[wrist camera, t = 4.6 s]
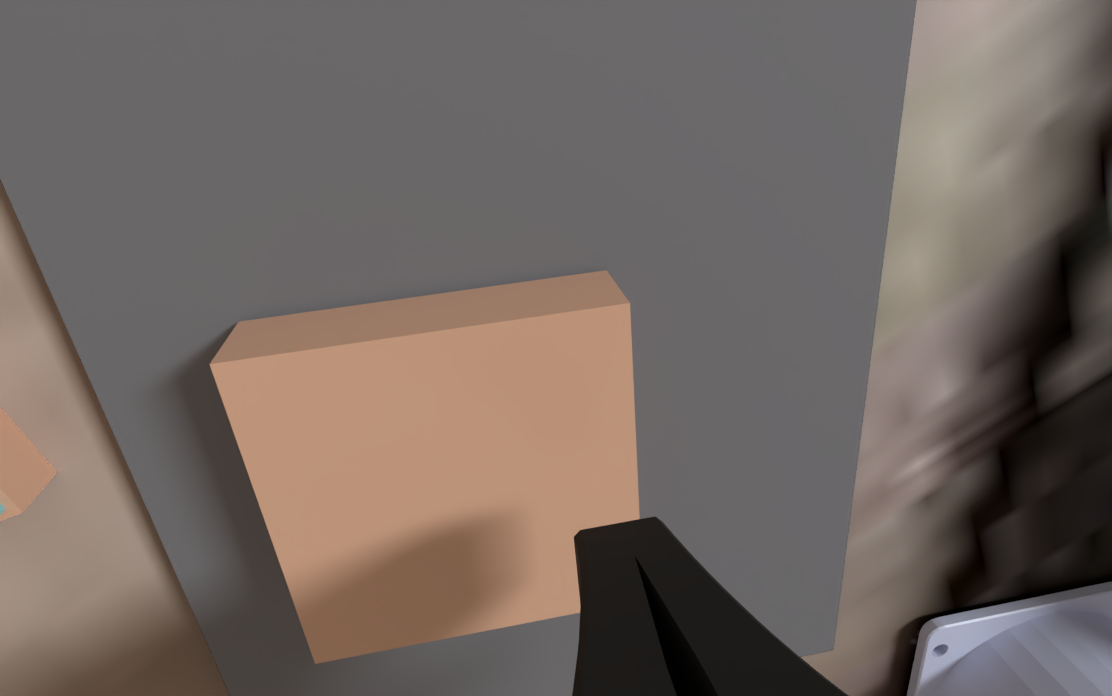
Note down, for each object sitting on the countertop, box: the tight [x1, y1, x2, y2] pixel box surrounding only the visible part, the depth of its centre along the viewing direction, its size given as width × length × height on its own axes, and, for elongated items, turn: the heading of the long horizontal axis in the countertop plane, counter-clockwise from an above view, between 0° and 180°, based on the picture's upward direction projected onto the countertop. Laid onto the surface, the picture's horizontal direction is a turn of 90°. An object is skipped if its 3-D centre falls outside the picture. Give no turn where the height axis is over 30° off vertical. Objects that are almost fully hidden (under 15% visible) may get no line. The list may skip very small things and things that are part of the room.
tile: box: [210, 270, 640, 664], centre depth 14 cm, size 7×2×7 cm
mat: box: [0, 0, 917, 696], centre depth 15 cm, size 20×16×1 cm
